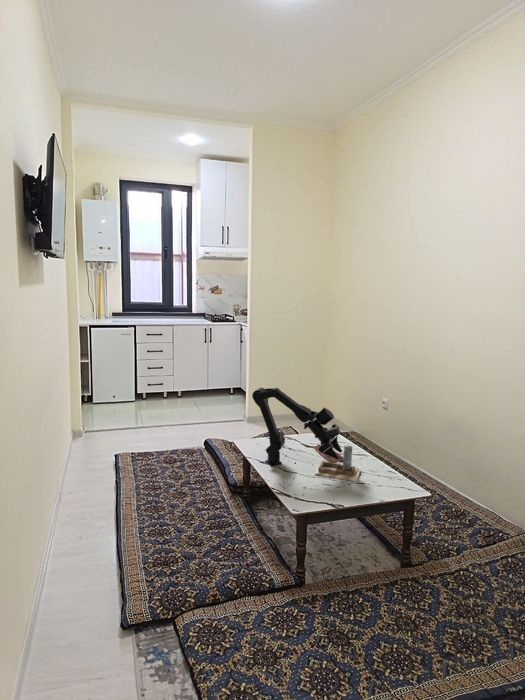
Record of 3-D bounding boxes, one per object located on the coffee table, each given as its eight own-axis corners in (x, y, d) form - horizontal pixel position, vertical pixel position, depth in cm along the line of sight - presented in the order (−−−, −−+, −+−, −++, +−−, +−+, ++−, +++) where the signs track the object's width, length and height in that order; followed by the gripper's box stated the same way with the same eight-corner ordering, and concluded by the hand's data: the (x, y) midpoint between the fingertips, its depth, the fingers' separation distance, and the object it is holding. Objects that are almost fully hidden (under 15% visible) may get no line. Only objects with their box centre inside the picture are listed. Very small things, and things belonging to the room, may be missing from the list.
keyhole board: (314, 474, 228) (315, 468, 227) (320, 464, 240) (320, 459, 239) (356, 481, 221) (357, 475, 221) (360, 471, 233) (360, 465, 233)
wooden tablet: (309, 443, 266) (326, 440, 269) (310, 447, 267) (326, 444, 270) (330, 462, 241) (347, 458, 244) (330, 466, 242) (348, 462, 245)
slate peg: (341, 472, 228) (342, 446, 226) (344, 470, 232) (346, 444, 230) (348, 474, 226) (350, 448, 224) (352, 472, 230) (353, 446, 228)
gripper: (326, 426, 219) (349, 452, 218) (334, 415, 237) (355, 439, 235) (309, 440, 223) (331, 466, 221) (318, 428, 240) (338, 452, 239)
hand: (339, 455), depth 229 cm, fingers open, 9 cm apart
